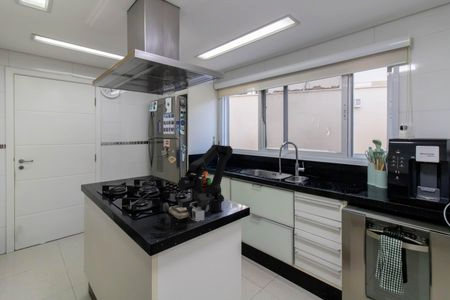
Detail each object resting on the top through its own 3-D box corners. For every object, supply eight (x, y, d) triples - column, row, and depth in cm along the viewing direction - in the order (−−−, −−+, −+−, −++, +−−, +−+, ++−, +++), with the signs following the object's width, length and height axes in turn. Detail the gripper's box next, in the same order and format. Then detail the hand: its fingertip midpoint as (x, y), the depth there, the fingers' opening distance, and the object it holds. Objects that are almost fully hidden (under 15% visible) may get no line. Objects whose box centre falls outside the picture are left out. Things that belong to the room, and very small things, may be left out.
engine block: (198, 216, 122) (198, 207, 122) (204, 219, 117) (204, 210, 117) (190, 218, 119) (190, 209, 119) (195, 222, 114) (195, 212, 114)
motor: (194, 204, 143) (193, 173, 141) (198, 200, 151) (198, 170, 150) (209, 205, 140) (209, 173, 139) (213, 201, 149) (213, 171, 148)
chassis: (190, 205, 141) (190, 197, 141) (204, 212, 127) (204, 204, 127) (163, 210, 131) (162, 202, 131) (175, 219, 117) (175, 210, 117)
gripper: (187, 193, 105) (187, 226, 106) (220, 187, 116) (220, 217, 117) (177, 188, 114) (178, 219, 115) (209, 184, 125) (209, 211, 126)
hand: (197, 217), depth 118 cm, fingers open, 6 cm apart
